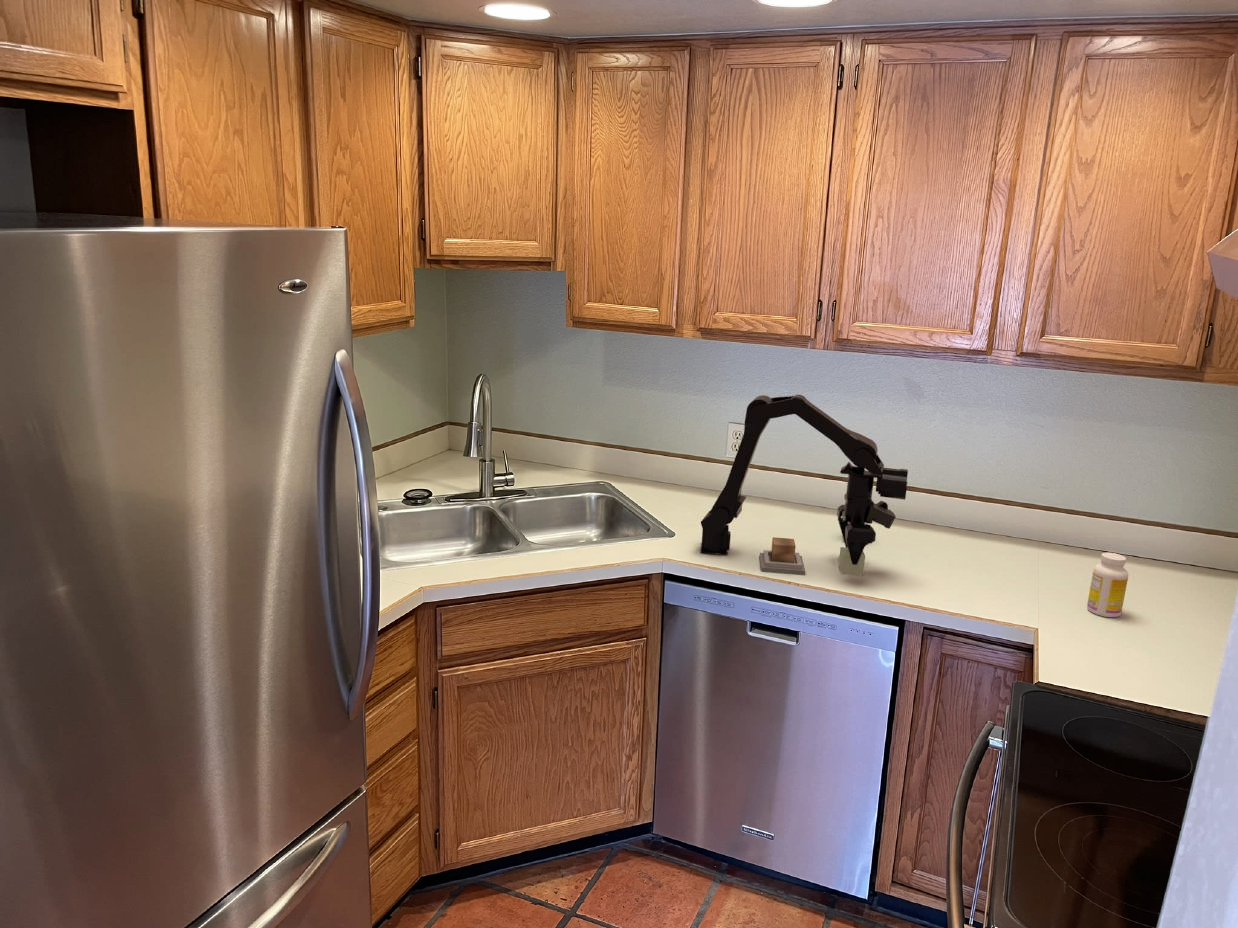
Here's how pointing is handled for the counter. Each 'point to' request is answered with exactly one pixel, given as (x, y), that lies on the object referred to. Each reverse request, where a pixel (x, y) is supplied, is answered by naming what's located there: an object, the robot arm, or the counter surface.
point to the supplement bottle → (1108, 586)
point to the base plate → (781, 564)
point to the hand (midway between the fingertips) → (851, 557)
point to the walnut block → (783, 550)
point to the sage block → (850, 563)
